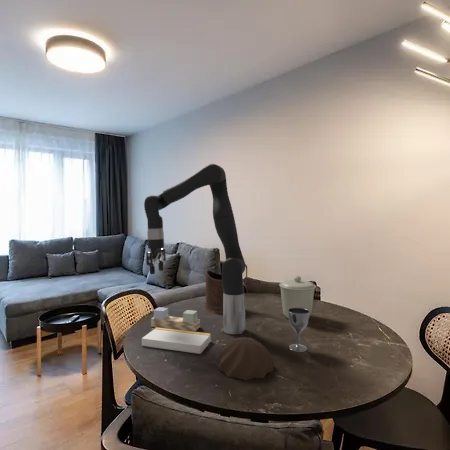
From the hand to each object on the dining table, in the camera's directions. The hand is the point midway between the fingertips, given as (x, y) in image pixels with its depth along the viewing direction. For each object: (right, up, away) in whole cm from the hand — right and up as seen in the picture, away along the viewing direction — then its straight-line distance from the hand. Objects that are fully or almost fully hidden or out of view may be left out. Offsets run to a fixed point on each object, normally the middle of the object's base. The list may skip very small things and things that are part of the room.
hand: (156, 272), depth 155 cm
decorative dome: (+39, -27, -40) cm, 62 cm away
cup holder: (+32, -24, +25) cm, 47 cm away
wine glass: (+61, -26, -26) cm, 71 cm away
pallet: (+9, -25, -3) cm, 27 cm away
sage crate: (+16, -21, -6) cm, 27 cm away
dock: (+13, -26, -22) cm, 36 cm away
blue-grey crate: (+2, -21, -1) cm, 21 cm away
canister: (+69, -25, +11) cm, 74 cm away
